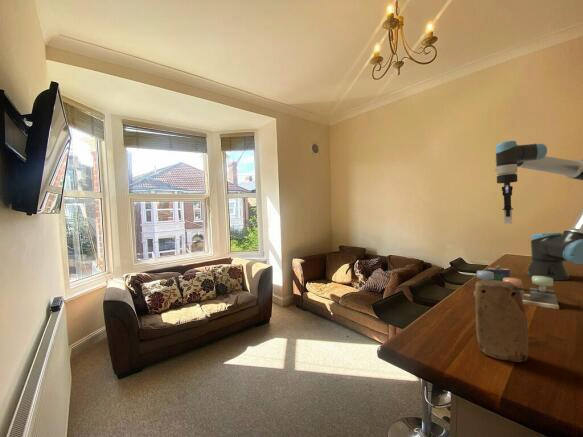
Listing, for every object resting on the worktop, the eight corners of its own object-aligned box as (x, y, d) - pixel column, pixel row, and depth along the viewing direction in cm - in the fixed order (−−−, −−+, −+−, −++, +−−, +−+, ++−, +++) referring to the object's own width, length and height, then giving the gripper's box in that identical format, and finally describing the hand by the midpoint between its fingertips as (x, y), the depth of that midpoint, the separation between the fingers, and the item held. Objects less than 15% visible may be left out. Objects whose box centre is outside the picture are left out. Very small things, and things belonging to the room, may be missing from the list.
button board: (473, 296, 111) (473, 286, 111) (476, 290, 118) (475, 280, 118) (559, 309, 93) (558, 297, 93) (555, 301, 101) (555, 289, 101)
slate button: (484, 282, 115) (484, 270, 115) (497, 286, 109) (497, 273, 109) (473, 284, 114) (473, 271, 114) (486, 288, 108) (486, 274, 108)
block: (475, 353, 69) (472, 282, 69) (478, 342, 75) (476, 276, 74) (529, 368, 62) (526, 289, 62) (528, 354, 68) (526, 281, 67)
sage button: (539, 289, 103) (539, 275, 103) (557, 294, 97) (557, 278, 97) (528, 291, 102) (527, 276, 102) (545, 296, 96) (545, 280, 96)
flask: (509, 286, 120) (508, 264, 120) (512, 288, 117) (511, 266, 117) (486, 285, 123) (485, 264, 123) (488, 287, 121) (487, 265, 120)
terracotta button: (510, 290, 109) (510, 276, 109) (526, 294, 103) (525, 280, 103) (499, 292, 108) (499, 278, 108) (514, 296, 102) (514, 282, 102)
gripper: (497, 176, 127) (498, 222, 128) (495, 174, 118) (497, 224, 118) (517, 174, 122) (518, 222, 123) (517, 172, 113) (518, 224, 113)
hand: (508, 223), depth 121 cm, fingers closed
